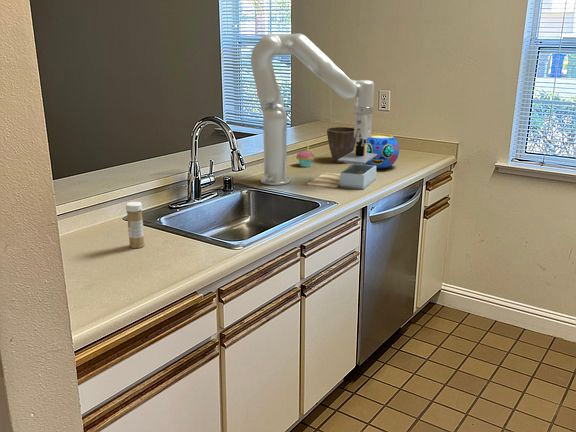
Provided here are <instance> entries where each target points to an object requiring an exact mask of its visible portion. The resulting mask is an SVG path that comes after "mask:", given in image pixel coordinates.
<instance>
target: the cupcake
mask: <svg viewBox="0 0 576 432" xmlns="http://www.w3.org/2000/svg"><path fill="white" fill-rule="evenodd" d="M309 148H310V142H308V143H307V147H306V150H301V151H299V152H298V153H297V154H296V156H295V158H296V160H298V163H299V165H300V167H301V168H302V167H303V168H309V167H311V166H312V163H313V160H314V159H315V154H314V153H313V152H312V151H309Z"/></svg>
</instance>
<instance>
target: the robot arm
mask: <svg viewBox="0 0 576 432" xmlns="http://www.w3.org/2000/svg"><path fill="white" fill-rule="evenodd" d="M250 56H251V57H250V66H251V72H252V74H253V79H254V83H255V88H256V96H257V98H258V100H259V105H260V108H261V111H262V116H263V118H262V124H263V125H262V127H263V175H264V176H263V177H261V178H260V183H261V184H264V185H268V186H269V185H270V186H281V185H287V184H289V183H290V182H291V178H290V177H288V176H287V173H288V172H287V165H288V163H287V157H288V156H287V148H288V147H287V128H288V127H287V123H288V119H287V113H286V109H285V106H284V101H283V97H282V92H281V89H280V85H279V83H278V81H277V79H276V78H277V77H276V75H275V70H274V65H273V59H274V57H275V56H294V57H296V59H298V60H299V61H300V62H301V63H302V65H304V66H305V67H306V68H308V69H309V70H310V72H312V73H313V74H314V75H315V76H316V77H317V78H319V80H320V79H321V80H322V81H323V82H324V83H325V84H326V85H328V87H330V88H331V89H332V90H333V91H334V92H335V93H336V94H337V95H338V96H339V97H340V98H342V99H343V100H345V101H346V100H347V101H349V100H353V99H354V112H353V113H354V115H355V119H354V127H353V128H354V138H355V139H356V143H355V151H356V155H357V156H363V154H364V146H363V143H367V138H369V137H371V134H372V128H373V127H372V125H373V124H372V116H373V112H374V98H375V97H374V95H375V83H374V81H373V80H368V79H359V80H355V79H351V78H349V77H348V75H346V74H345V73H344V71H342V70H341V69H340V68H339V67H338V66H337V65H336V64H335V63H334V61H332V60H331V58H329V56H328V55H326V54H325V53H324V52H323V51H322V49H320V48H319V47H318V46H317V45H316V44H315V43H314V42H313V41H312V40H310V39H309V37H307V35H305V34H303V33H282V34H281V33H276V34H275V33H269V34H266V35H264V36H263V37H261V38H260V40H259V41H257V43H256V44H255V45H254V47H253V49H252V52H251V55H250Z"/></svg>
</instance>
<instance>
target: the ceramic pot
mask: <svg viewBox="0 0 576 432" xmlns="http://www.w3.org/2000/svg"><path fill="white" fill-rule="evenodd" d="M367 153H373V154H377V156H375V157H374V158H372V159H371V160H369V161H368V162H366V163H365V165H372V166H376V169H386V168H389V167H391V166H393V165H394V164H395V163H396V161H397V160H398V157H399V153H400V146H399V142H398V140H397V139H396V137H395V136H394V135H392V134H387V133H371V137H369V138H367Z"/></svg>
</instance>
